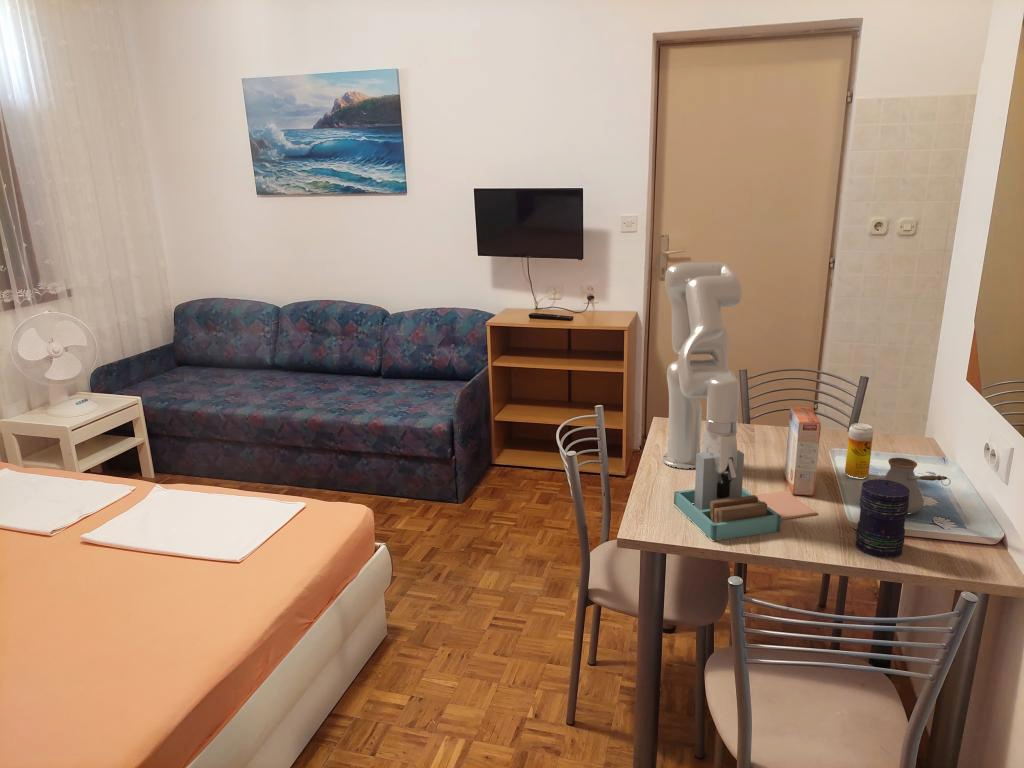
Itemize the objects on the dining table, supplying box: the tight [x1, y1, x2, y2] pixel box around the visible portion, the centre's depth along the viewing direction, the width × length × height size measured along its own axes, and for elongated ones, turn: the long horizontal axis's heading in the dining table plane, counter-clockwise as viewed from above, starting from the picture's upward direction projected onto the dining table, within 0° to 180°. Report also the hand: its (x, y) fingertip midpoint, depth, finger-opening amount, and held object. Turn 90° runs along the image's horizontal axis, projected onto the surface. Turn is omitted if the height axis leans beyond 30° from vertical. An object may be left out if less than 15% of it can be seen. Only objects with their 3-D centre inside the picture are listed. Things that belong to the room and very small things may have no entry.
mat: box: [754, 490, 818, 521], centre depth 190 cm, size 14×13×1 cm
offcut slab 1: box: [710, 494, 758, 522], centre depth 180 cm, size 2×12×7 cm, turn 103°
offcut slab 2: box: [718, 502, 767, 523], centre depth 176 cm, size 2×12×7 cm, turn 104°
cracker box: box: [784, 406, 822, 497], centre depth 199 cm, size 14×6×21 cm, turn 168°
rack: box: [673, 487, 782, 541], centre depth 184 cm, size 20×18×4 cm
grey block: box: [694, 449, 745, 510], centre depth 186 cm, size 4×11×16 cm, turn 104°
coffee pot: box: [882, 457, 951, 514], centre depth 180 cm, size 21×12×15 cm, turn 8°
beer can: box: [844, 422, 874, 478], centre depth 205 cm, size 6×6×15 cm
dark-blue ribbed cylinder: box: [855, 479, 910, 559], centre depth 166 cm, size 10×10×15 cm
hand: (718, 492), depth 187 cm, fingers closed on grey block, 4 cm apart
